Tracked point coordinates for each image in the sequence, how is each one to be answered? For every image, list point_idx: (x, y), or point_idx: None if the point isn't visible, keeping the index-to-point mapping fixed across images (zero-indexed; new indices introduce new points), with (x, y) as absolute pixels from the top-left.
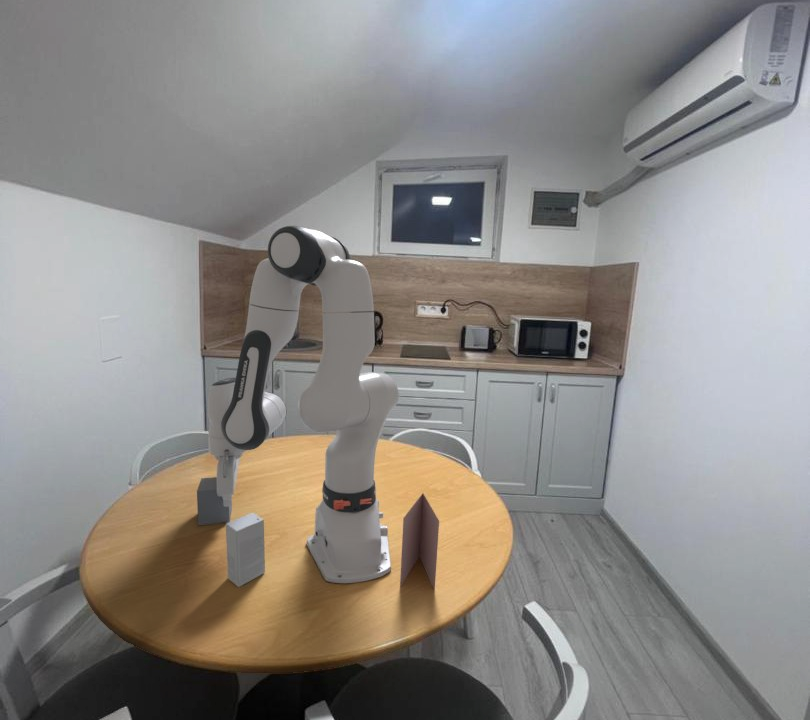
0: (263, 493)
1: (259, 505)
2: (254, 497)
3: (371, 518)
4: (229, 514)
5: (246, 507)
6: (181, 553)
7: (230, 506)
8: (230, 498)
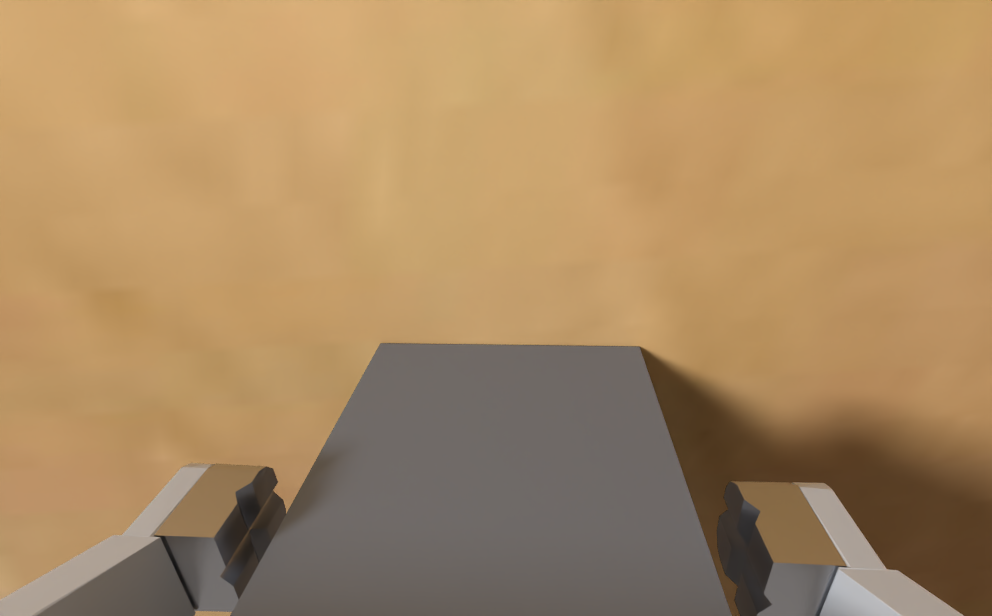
0: (48, 33)
1: (348, 70)
2: (162, 141)
3: None
4: (632, 384)
5: (384, 215)
6: (954, 582)
7: (505, 395)
8: (932, 606)
